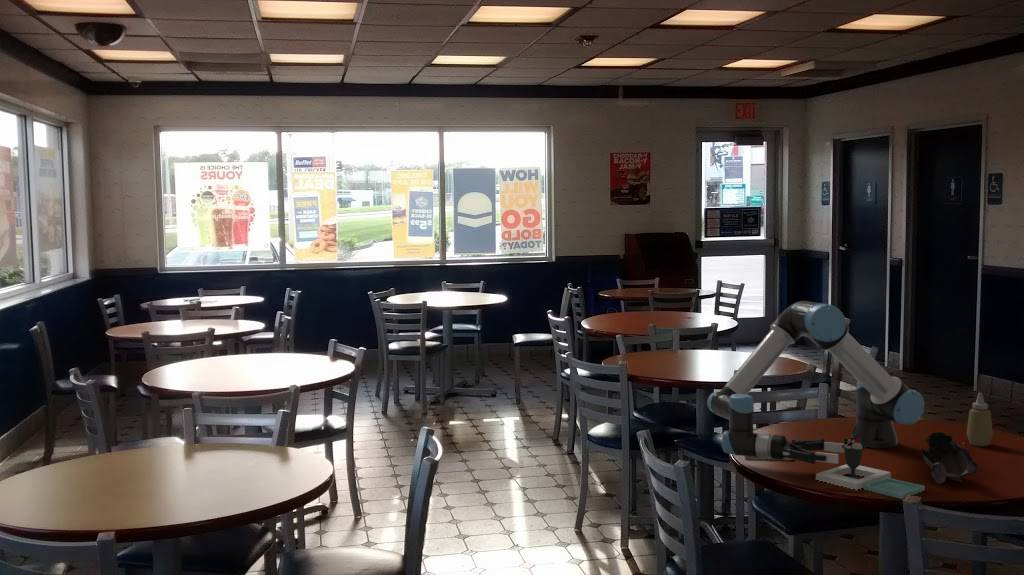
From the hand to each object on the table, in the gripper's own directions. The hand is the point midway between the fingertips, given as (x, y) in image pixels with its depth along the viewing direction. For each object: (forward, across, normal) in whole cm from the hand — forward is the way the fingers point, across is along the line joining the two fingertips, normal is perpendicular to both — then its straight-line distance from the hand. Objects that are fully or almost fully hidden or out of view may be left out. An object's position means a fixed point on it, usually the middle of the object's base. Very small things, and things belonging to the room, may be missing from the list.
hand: (842, 453), depth 288 cm
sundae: (+3, 0, -8) cm, 9 cm away
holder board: (+3, 0, -8) cm, 8 cm away
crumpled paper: (+28, -13, -8) cm, 32 cm away
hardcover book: (-29, -24, -9) cm, 38 cm away
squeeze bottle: (+35, -61, -8) cm, 71 cm away
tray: (+16, +6, -8) cm, 18 cm away
